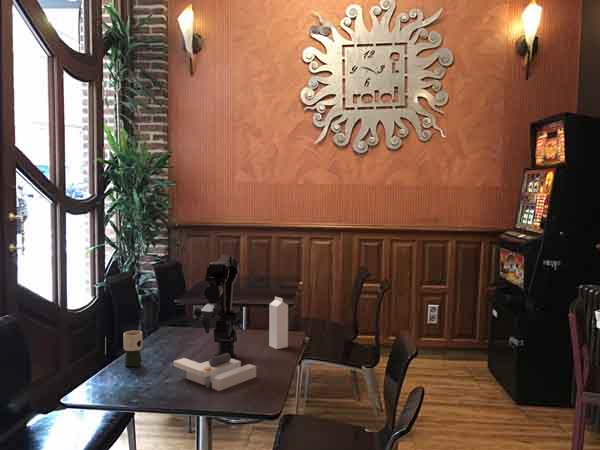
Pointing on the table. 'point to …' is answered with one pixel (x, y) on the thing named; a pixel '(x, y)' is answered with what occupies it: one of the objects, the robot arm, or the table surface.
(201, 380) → the white block with cutout
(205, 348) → the table surface
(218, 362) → the rod
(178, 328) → the table surface
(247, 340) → the table surface
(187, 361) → the cover
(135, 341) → the character mug
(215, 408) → the table surface
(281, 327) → the milk
